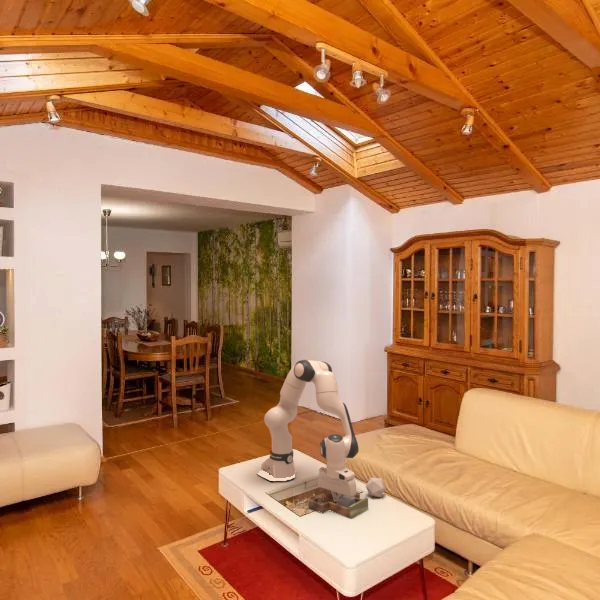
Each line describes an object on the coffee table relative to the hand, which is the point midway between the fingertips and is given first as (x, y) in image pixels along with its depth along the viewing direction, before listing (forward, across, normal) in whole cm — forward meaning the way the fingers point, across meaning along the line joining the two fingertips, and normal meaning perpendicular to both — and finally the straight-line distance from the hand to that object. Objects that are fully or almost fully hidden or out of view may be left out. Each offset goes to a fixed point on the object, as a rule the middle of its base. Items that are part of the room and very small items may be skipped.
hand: (336, 501), depth 222 cm
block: (+2, +5, 0) cm, 6 cm away
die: (+2, +7, +21) cm, 22 cm away
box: (+2, +1, 0) cm, 2 cm away
